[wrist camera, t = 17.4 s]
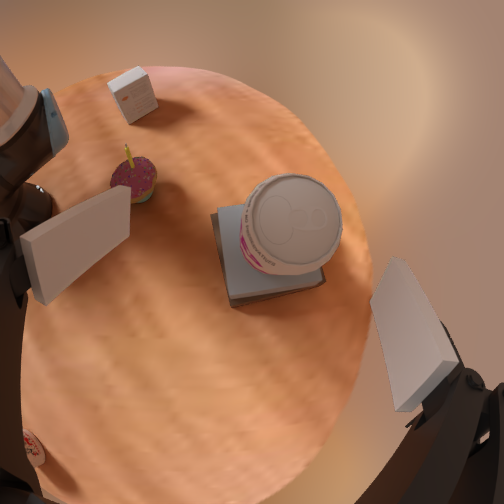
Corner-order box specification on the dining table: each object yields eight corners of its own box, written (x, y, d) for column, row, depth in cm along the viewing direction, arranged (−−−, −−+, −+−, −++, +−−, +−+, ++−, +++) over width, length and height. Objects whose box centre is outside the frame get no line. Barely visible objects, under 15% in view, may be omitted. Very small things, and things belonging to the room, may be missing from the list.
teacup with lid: (50, 450, 30) (16, 465, 19) (43, 471, 28) (12, 487, 17) (14, 410, 32) (-22, 416, 20) (8, 434, 29) (-24, 441, 18)
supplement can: (241, 277, 34) (246, 279, 19) (237, 211, 35) (239, 167, 20) (305, 272, 35) (354, 270, 20) (300, 209, 35) (341, 166, 20)
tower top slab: (219, 219, 41) (217, 207, 37) (297, 209, 41) (302, 196, 38) (230, 299, 37) (229, 295, 33) (315, 285, 38) (322, 280, 34)
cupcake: (139, 166, 47) (117, 126, 36) (173, 182, 46) (154, 140, 35) (112, 202, 45) (82, 167, 34) (144, 221, 44) (117, 187, 33)
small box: (150, 97, 53) (139, 64, 43) (159, 107, 52) (148, 73, 42) (121, 114, 52) (106, 82, 42) (128, 125, 51) (112, 92, 41)
